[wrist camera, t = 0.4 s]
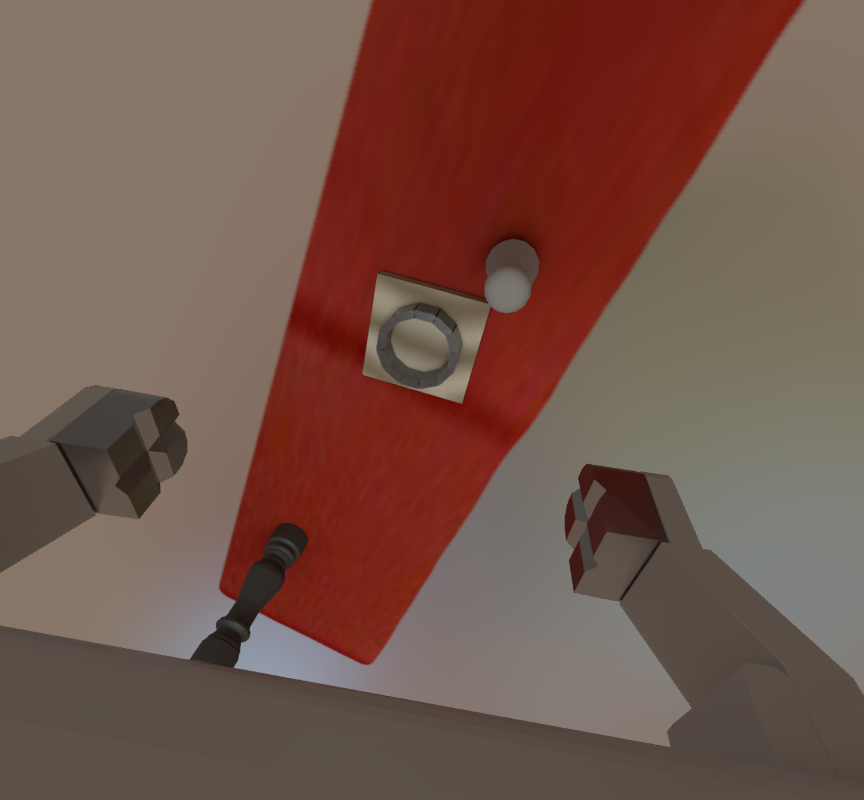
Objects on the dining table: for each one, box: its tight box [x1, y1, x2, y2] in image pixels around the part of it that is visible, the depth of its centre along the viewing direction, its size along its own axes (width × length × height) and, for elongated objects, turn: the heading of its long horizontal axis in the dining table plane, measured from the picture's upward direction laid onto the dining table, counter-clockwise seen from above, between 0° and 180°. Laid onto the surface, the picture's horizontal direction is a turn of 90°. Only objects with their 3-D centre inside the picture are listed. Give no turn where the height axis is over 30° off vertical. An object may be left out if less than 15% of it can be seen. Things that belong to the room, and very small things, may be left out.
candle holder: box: [190, 523, 308, 668], centre depth 71 cm, size 6×6×25 cm
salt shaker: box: [484, 239, 539, 313], centre depth 45 cm, size 6×6×13 cm
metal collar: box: [376, 302, 463, 389], centre depth 55 cm, size 10×10×3 cm
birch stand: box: [363, 271, 491, 403], centre depth 57 cm, size 14×14×2 cm
